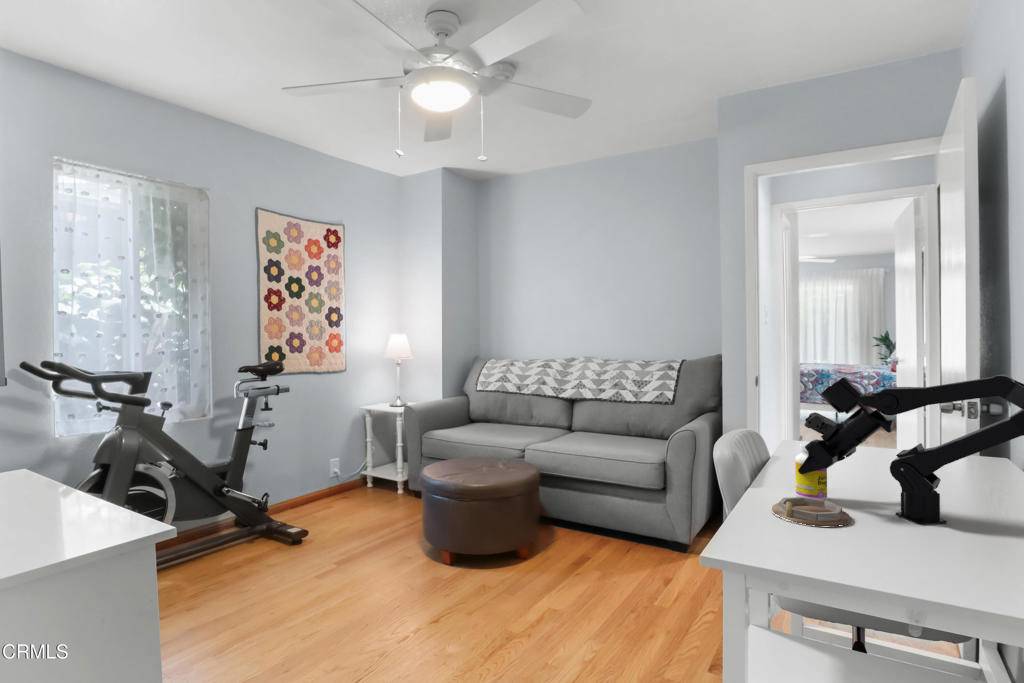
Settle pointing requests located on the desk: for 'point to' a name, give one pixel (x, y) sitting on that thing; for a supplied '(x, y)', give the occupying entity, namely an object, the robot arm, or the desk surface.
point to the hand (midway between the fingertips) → (804, 470)
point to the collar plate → (811, 511)
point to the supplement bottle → (810, 479)
